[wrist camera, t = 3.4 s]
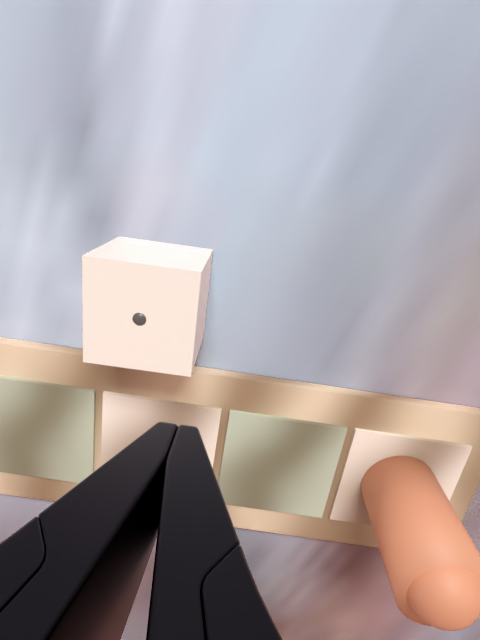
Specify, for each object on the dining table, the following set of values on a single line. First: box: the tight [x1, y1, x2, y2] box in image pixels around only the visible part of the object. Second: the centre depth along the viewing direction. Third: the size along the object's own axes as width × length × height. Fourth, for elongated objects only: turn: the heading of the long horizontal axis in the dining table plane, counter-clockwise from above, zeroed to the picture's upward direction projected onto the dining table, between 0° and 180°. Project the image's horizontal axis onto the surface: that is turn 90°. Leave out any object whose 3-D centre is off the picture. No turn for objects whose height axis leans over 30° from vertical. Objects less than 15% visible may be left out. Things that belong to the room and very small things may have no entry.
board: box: [0, 337, 480, 548], centre depth 20 cm, size 26×9×1 cm, turn 82°
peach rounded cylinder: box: [361, 456, 480, 631], centre depth 17 cm, size 4×4×6 cm
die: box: [82, 236, 213, 377], centre depth 16 cm, size 4×4×4 cm
